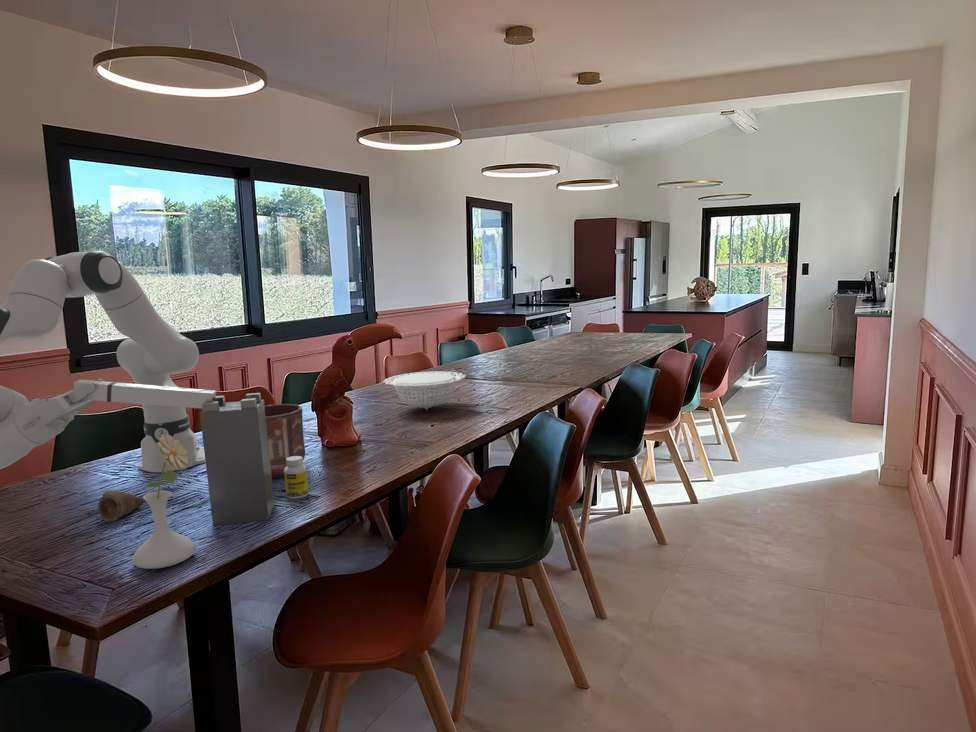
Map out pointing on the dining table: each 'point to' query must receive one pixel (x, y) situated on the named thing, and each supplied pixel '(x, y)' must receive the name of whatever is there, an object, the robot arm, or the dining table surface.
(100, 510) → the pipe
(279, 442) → the pottery
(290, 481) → the supplement bottle
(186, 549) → the flower in vase
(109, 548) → the dining table surface
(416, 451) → the dining table surface
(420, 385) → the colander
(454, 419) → the dining table surface
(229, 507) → the block
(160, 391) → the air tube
